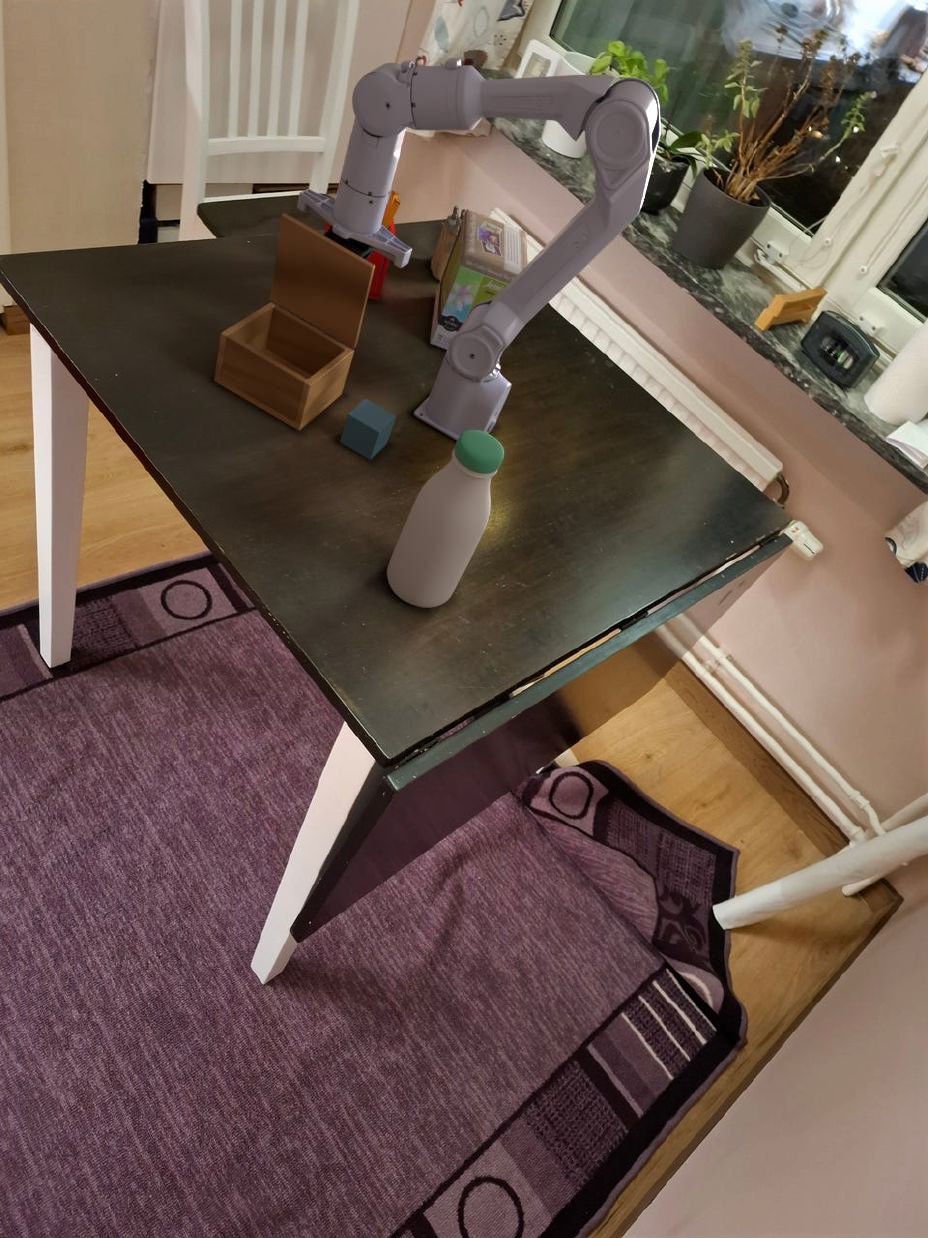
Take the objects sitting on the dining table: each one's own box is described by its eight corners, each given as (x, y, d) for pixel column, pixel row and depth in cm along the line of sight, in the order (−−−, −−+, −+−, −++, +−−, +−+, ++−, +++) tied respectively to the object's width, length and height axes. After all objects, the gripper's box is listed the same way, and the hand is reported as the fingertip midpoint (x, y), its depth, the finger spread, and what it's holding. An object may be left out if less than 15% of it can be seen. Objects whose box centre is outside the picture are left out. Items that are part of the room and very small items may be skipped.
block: (386, 443, 104) (396, 416, 100) (370, 460, 101) (379, 432, 97) (356, 426, 104) (365, 398, 101) (339, 442, 101) (347, 413, 98)
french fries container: (316, 262, 125) (337, 169, 115) (375, 277, 128) (400, 189, 118) (317, 287, 121) (338, 193, 111) (377, 302, 124) (403, 212, 114)
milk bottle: (443, 620, 88) (514, 485, 74) (376, 593, 87) (434, 451, 73) (458, 572, 94) (526, 438, 79) (395, 546, 93) (453, 405, 78)
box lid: (372, 267, 92) (375, 265, 93) (280, 214, 93) (284, 212, 93) (353, 348, 101) (356, 346, 102) (270, 300, 102) (273, 297, 102)
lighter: (453, 285, 135) (474, 227, 128) (431, 279, 134) (451, 221, 127) (449, 263, 139) (469, 206, 132) (428, 257, 138) (447, 199, 131)
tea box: (491, 366, 123) (530, 277, 113) (428, 345, 121) (461, 251, 110) (492, 315, 133) (528, 228, 123) (434, 294, 131) (465, 204, 120)
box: (298, 431, 99) (310, 385, 94) (214, 380, 100) (220, 332, 95) (341, 394, 107) (354, 350, 102) (262, 347, 107) (271, 301, 102)
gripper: (292, 159, 91) (272, 271, 101) (404, 224, 91) (373, 330, 100) (324, 146, 96) (302, 254, 106) (431, 208, 96) (398, 310, 105)
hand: (338, 290), depth 103 cm, fingers closed
